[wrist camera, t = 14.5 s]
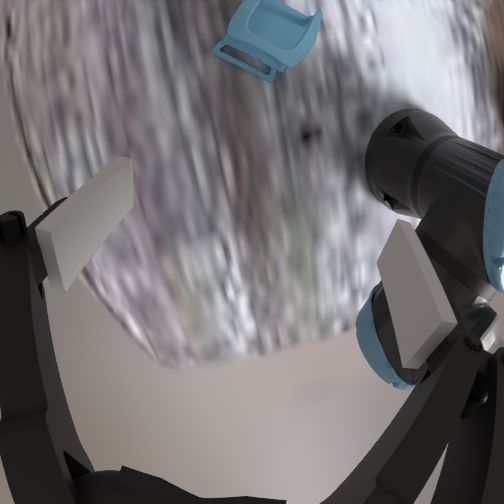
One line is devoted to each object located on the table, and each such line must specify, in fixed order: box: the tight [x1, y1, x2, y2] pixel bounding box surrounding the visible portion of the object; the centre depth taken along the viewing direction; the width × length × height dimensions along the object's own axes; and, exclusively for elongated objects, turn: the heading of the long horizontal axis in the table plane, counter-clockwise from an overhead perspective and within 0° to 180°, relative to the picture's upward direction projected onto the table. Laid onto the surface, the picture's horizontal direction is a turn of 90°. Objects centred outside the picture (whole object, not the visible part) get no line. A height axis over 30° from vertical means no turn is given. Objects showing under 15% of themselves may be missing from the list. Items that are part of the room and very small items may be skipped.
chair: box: [212, 0, 323, 82], centre depth 24 cm, size 8×8×12 cm
